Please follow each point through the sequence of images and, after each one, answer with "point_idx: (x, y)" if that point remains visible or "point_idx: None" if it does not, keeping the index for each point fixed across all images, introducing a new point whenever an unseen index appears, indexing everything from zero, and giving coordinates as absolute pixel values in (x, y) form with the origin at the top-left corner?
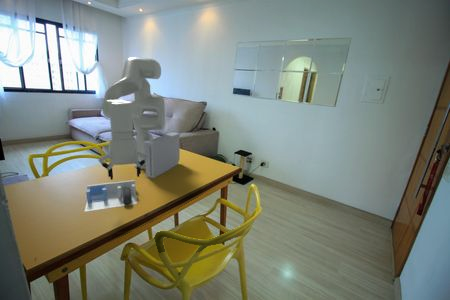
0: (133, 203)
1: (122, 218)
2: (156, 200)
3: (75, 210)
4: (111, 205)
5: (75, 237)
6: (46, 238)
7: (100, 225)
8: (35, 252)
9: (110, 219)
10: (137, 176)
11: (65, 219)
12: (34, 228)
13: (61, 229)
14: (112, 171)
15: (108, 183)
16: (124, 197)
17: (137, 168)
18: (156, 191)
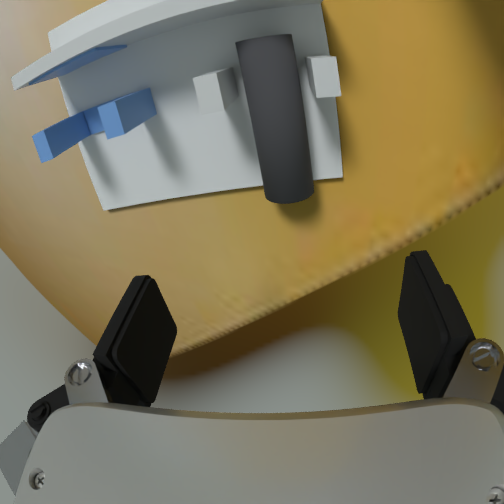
0: (320, 171)
1: (276, 272)
2: (441, 156)
3: (66, 184)
4: (200, 173)
5: None
6: (88, 309)
7: (202, 293)
8: None
9: (228, 269)
10: (398, 318)
11: (71, 238)
12: (33, 264)
13: (95, 285)
14: (135, 330)
15: (111, 32)
16: (268, 176)
17: (423, 390)
18: (453, 46)
